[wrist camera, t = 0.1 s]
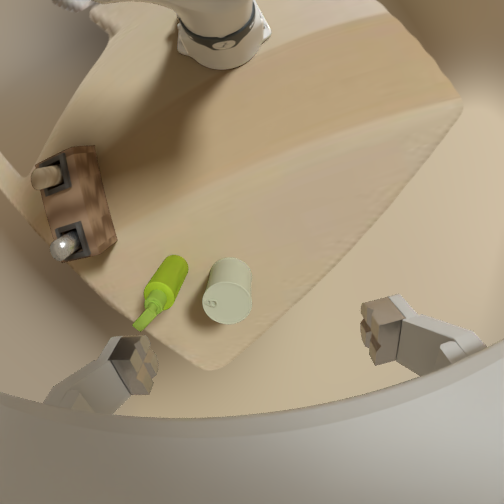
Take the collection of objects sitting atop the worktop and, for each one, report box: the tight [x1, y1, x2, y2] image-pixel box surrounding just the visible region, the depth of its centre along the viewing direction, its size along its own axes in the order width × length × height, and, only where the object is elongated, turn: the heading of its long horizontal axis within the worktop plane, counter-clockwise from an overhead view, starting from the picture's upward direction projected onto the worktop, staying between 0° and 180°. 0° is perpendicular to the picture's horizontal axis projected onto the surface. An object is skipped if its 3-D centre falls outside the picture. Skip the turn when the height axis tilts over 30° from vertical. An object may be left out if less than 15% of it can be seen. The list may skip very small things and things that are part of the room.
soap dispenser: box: [132, 255, 188, 332], centre depth 52 cm, size 6×7×20 cm
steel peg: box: [50, 229, 82, 261], centre depth 48 cm, size 4×4×8 cm
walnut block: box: [35, 145, 117, 263], centre depth 51 cm, size 22×11×10 cm, turn 10°
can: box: [202, 258, 252, 324], centre depth 56 cm, size 9×9×12 cm
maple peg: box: [31, 164, 64, 190], centre depth 43 cm, size 4×4×8 cm
